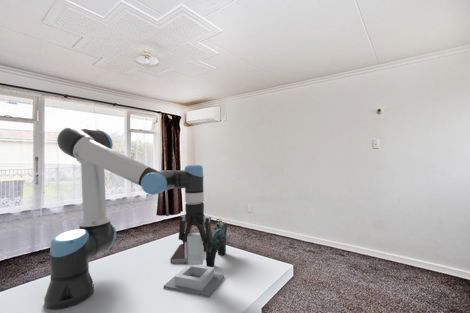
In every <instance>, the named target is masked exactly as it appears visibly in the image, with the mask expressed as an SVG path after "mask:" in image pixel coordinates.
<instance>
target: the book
mask: <svg viewBox="0 0 470 313" xmlns="http://www.w3.org/2000/svg"><path fill="white" fill-rule="evenodd" d="M169 260H170V264H188V258H185V249H183V243H181V244H179V246H178V247H177V249H176V250H175V252H174V253H173V254H172V256H171V257H170V259H169Z"/></svg>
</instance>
